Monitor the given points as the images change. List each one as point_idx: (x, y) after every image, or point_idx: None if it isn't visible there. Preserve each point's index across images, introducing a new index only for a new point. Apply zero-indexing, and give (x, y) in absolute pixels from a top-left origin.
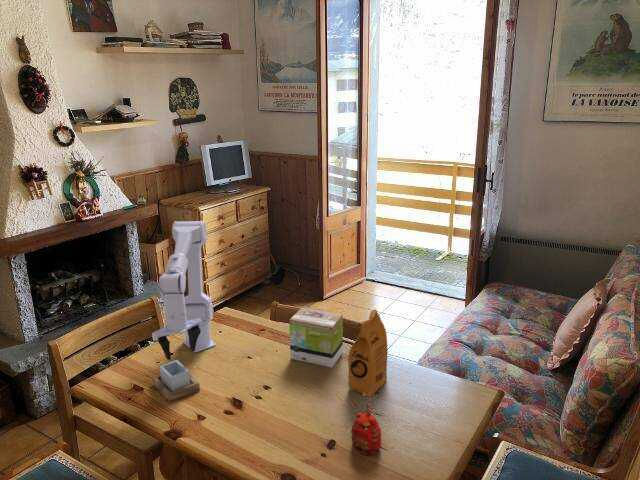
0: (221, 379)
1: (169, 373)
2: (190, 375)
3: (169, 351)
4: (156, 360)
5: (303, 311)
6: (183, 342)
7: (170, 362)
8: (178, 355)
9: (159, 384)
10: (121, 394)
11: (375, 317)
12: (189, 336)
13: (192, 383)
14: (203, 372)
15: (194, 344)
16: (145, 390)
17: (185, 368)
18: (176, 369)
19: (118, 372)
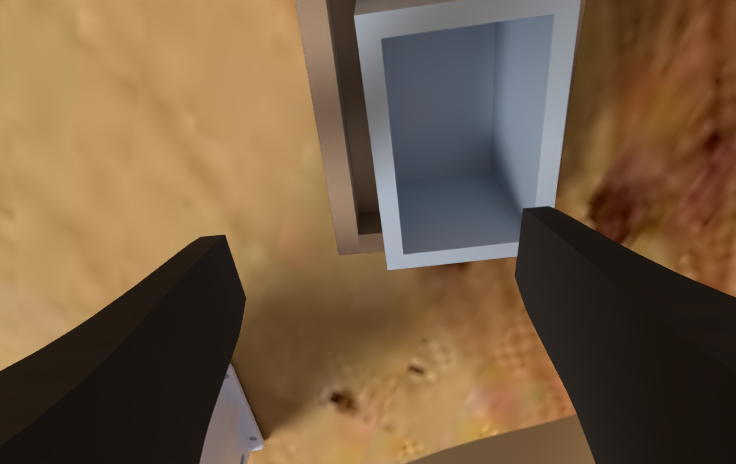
0: (101, 5)
1: (549, 83)
2: (320, 115)
3: (602, 266)
4: (417, 383)
5: None
6: (263, 442)
7: (448, 260)
8: (312, 375)
9: None
10: (712, 209)
11: None
12: (181, 454)
13: (331, 25)
14: (220, 171)
15: (154, 287)
16: (596, 175)
17: (371, 84)
18: (400, 213)
19: None
